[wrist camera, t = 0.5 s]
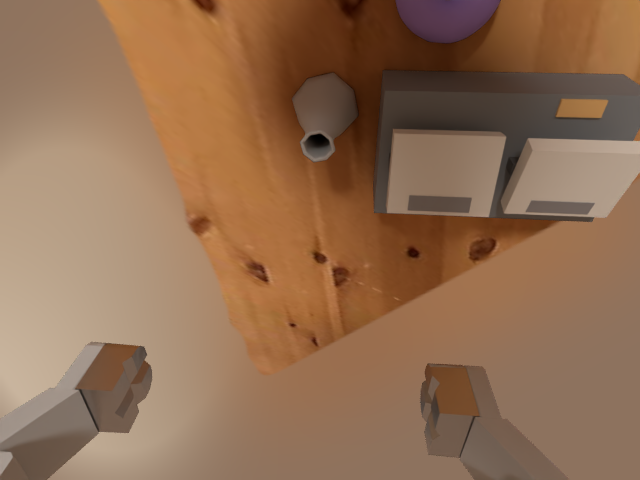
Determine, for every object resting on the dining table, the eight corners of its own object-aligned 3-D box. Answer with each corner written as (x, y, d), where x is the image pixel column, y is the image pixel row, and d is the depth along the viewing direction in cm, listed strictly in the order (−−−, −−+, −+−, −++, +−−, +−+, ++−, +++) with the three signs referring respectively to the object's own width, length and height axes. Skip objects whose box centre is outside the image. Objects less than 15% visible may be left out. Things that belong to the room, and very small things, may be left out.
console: (382, 70, 43) (385, 96, 38) (623, 74, 42) (665, 102, 36) (373, 186, 52) (373, 222, 47) (570, 193, 51) (597, 232, 45)
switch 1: (392, 128, 40) (394, 133, 38) (500, 131, 39) (506, 136, 37) (386, 205, 44) (387, 213, 42) (483, 209, 43) (488, 217, 41)
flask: (369, 117, 47) (370, 159, 39) (316, 146, 50) (306, 191, 42) (336, 59, 43) (330, 93, 36) (280, 94, 46) (263, 133, 38)
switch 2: (527, 138, 38) (532, 151, 36) (644, 141, 37) (653, 154, 36) (500, 200, 44) (504, 214, 43) (599, 204, 43) (606, 218, 42)
